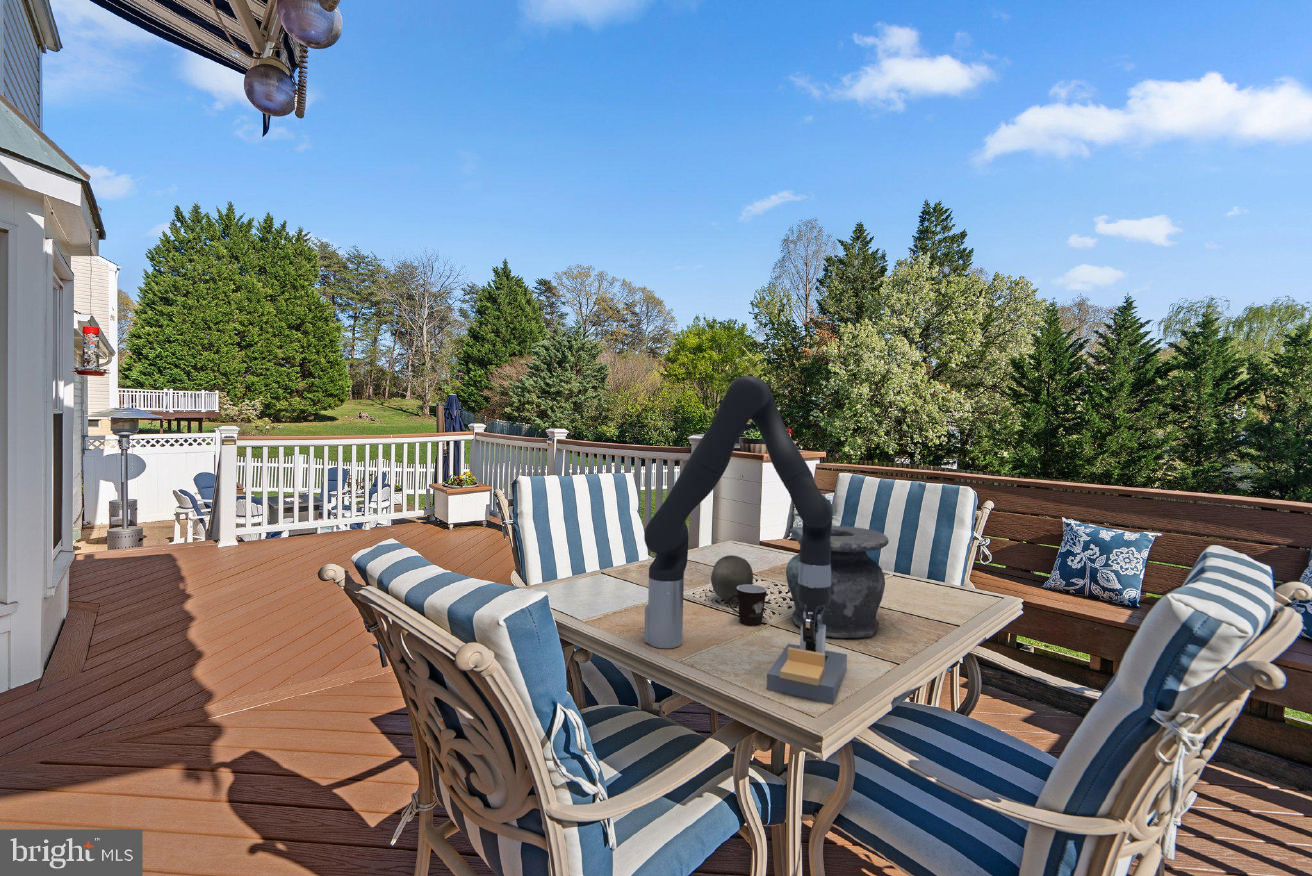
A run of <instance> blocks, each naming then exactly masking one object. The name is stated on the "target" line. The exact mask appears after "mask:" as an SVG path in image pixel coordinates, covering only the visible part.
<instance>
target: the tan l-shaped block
mask: <svg viewBox="0 0 1312 876" xmlns="http://www.w3.org/2000/svg"><path fill="white" fill-rule="evenodd" d="M824 672H825V654H823V653H818V652H813V651H807V650H802V649H797V648H791V647H789V648H788V655H787V661H786V663H785V664H784V666H783V667H782V669H781V670H780V678H784V679H789V680H794V681H798V682H803V683H808V684H813V685H817V686H818V685H819V683H820V681H821V678H822V676H823V674H824Z"/></svg>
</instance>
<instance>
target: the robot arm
mask: <svg viewBox="0 0 1312 876" xmlns="http://www.w3.org/2000/svg"><path fill="white" fill-rule="evenodd" d="M750 420H751V421H752V423H753V424H754V425H755V427H756V428H757V430H758V432H759V433H760V435H761V437H762V440H763V442H764V445H765V448H766V451H767V453H768V456H769V460H770V462H771V464H772V466H773V469H774V470H775V472H776V474H777V475H778V477H779V478H780V480H781V482H782V483H783V485H784V487H785V489H786V491H787V492H788V494H789V497H790V499H791V501H792V503H793V506H794V508H795V510H796V512H797V514H798V516H799V518H800V520H801V521H802V527H803V534H802V539H801V543H800V544H799V553H800V562H799V569H798V594H797V599H798V601H799V602H801V603H804V604H805V605H806V610H804V612H803V617H804V618H803V620H802V626H803V641H804V642H806V650H807V651H813V652H816V642H817V640H816V638H817V633H818V632H819V628H820V625H823V614H824V613H823V610H824V606H826V605H828V604H830V602H831V542H830V537H831V528H832V526H833V515H834V510H833V506H832V505H833V504H832V503H831V502H830V500H829V499H828V498H827V497H825V496H823V494H822V492H821V491H820V489H819V487H818V485H817V484H816V482H815V477H814V475H813V473H812V470H811V469H810V467H809V466H808V463H807V462H806V459H804V457H803V455H802V454H801V452H800V450H799V448H798V447H797V445H796V443H795V442H794V440H793V438H792V436H791V435H790V433H789V431H788V429H787V427H786V425H785V424H784V421H783V419H782V417H781V415H780V412H779V410H778V408H777V404H776V402H775V399H774V397H773V394H772V392H771V389H770V386H769V385H768V383H767V382H766V381H765V380H764V379H762V378H760V377H757V376H749V375H744V376H740V377H737V378H736V379H735V380H733V381H732V383H731V384H729V387H728V388H727V390H726V392H725V394H724V396H723V399H722V401H721V404H720V406H719V407H718V409H717V412H716V415H715V416H714V417H713V420H712V422H711V423H710V425H709V427H708V428H707V429H706V430H705V433H703V436H702V438H701V439H700V440H699V442H698V443H697V445H696V447H695V448H694V449H693V451H692V453H691V454H690V456H689V458H688V460H687V462H686V463H685V465H684V467H683V469H682V471H681V473H679V476H678V478H676V481H675V483H674V484H673V487H672V488H671V490H670V492H669V494H668V495H667V497H666V498H665V500H664V501H663V502H662V504H661V506H660V507H659V508H658V510H657V511H656V513H655V514H654V515H653V516H652V518H651V519H650V520H649V522H648V523H647V525H646V526H645V529H644V535H643V538H644V543H645V546H646V547H647V549H648V550H649V551H650V552H652V553H654V554H655V558H654V559H653V561H652V562H651V564H650V565H649V567H648V595H647V597H648V598H647V599H648V600H647V603H648V604H647V605H645V606H644V631H643V632H644V634H643V635H644V636H643V637H644V638H643V640H644V641H643V642H644V643H646V644H648V645H649V644H650V645H649V646H651V647H654V648H658V649H674V648H677V647H680V646H681V645H682V644H683V632H684V630H683V627H684V626H683V625H684V622H683V620H684V591H685V590H684V589H685V587H684V586H685V585H684V583H685V580H684V579H685V570H686V569H687V565H688V559H689V557H688V556H689V555H688V553H689V539H690V536H689V535H690V534H689V528H688V525H687V523H686V520H687V518H688V517H689V515H690V514H691V513H692V511H694V510H695V508H696V507H698V506H699V505H700V504H701V503H702V502H703V501H704V500H705V499H706V498H707V496H709V495H710V493H711V492H712V491H713V490H714V488H715V487H716V486H717V485H718V483H719V482H720V480H721V478H722V477H723V475H724V474H725V472H726V469H727V468H728V465H729V464H730V461H731V458H732V456H733V452H734V448H735V445H736V443H737V441H738V438H739V436H740V435H741V433H742V431H743V429H744V428H745V427H746V426H747V424H748V423H749V422H750ZM815 627H816V629H815ZM808 634H810V635H812V637H808Z"/></svg>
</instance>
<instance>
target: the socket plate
mask: <svg viewBox="0 0 1312 876" xmlns="http://www.w3.org/2000/svg"><path fill="white" fill-rule="evenodd" d="M789 647H791V648H797V649H800V644H799V645H798V644H794V643H793V644H792V643H787V644H786V646H785V647H784V649H783V650H782V651H781V654H779V656H778V657H777V659H776V660H775V662H774V663H773V664H772V666H771V667H770V669H769V671H768V672H767V674H766V690H767V691H771V692H777V693H781V694H785V695H790V696H795V697H798V698H802V699H803V698H804V699H807V700H813V701H817V702H822V703H826V704H830V703H832V705H834V704H833V703H835V701H836V698H837V695H838V693H839V691H840V687H841V685H842V682H843V679H844V677H845V675H844V674H846V672H847V667H848V665H847V664H848V654H847V653H842V652H837V651H831V650H826V649H825V672H824V674H823V676H822V678H821V681H820V683H819V685H818V686H817V685H813V684H808V683H803V682H798V681H794V680H789V679H784V678H780V670H781V669H782V667H783V666H784V664H785V663H786V661H787V655H788V648H789Z"/></svg>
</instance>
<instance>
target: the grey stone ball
mask: <svg viewBox="0 0 1312 876" xmlns="http://www.w3.org/2000/svg"><path fill="white" fill-rule="evenodd" d="M710 581H711V583H710V584H711V586H712V589H713V591H714V593H715V594H716V596H717V597H718V598H720V599H721V600H723V601H725V602H728V601H729V598H730V597H731V596H732V595H737V586H740V585H753V583H754V582H753V581H754V572H753V568H752V566H751V564H750V563H749V562H748V561H747V560H746V558H744V557H741V556H737V555H733V554H732V555H730V554H729V555H726V556H722V557H721V558H719V559H718V560H717V561H716V562H715V563H714V565H713V569H712V572H711V576H710ZM734 602H738V598H737V597H733V598H732V599H731V601H730V603H734Z"/></svg>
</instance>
